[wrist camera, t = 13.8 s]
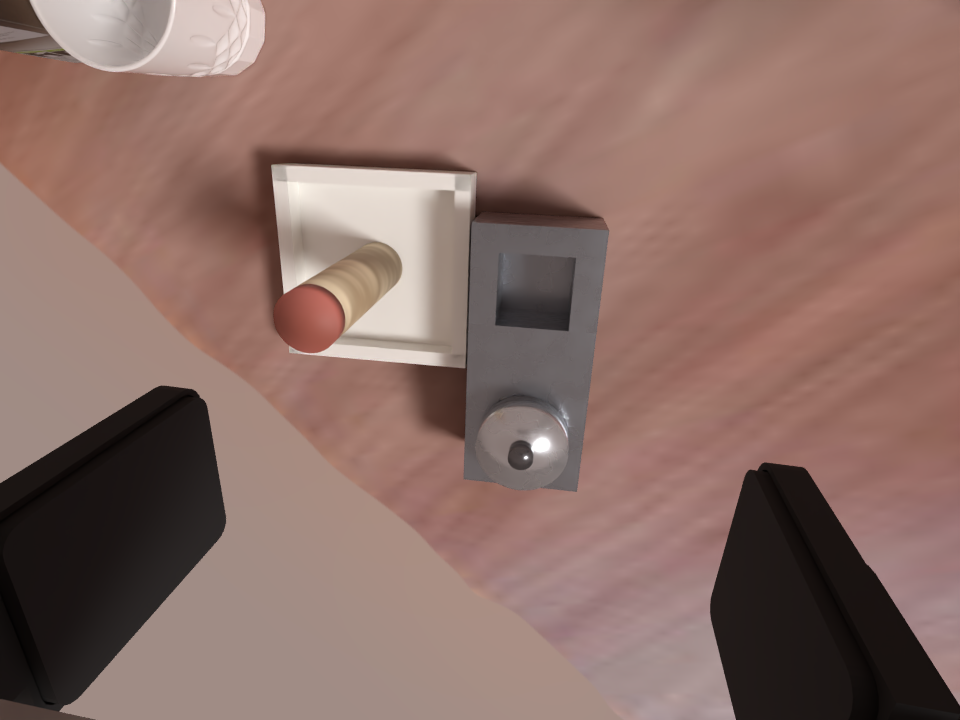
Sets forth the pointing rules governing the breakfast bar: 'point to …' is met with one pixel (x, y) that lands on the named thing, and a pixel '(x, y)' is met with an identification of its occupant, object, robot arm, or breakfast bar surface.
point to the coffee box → (27, 32)
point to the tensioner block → (531, 346)
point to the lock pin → (336, 297)
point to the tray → (403, 226)
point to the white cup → (158, 34)
